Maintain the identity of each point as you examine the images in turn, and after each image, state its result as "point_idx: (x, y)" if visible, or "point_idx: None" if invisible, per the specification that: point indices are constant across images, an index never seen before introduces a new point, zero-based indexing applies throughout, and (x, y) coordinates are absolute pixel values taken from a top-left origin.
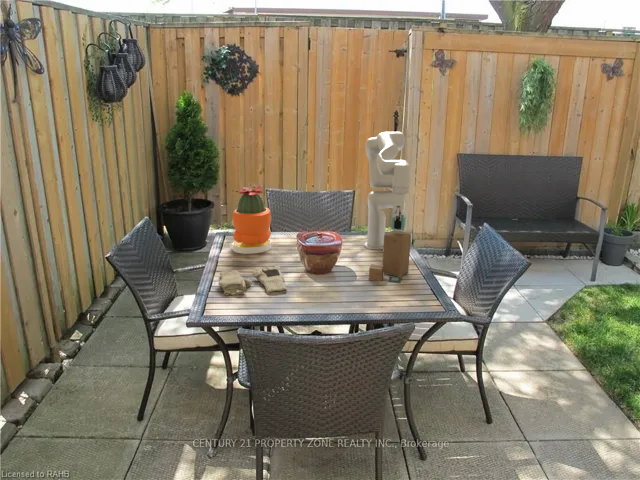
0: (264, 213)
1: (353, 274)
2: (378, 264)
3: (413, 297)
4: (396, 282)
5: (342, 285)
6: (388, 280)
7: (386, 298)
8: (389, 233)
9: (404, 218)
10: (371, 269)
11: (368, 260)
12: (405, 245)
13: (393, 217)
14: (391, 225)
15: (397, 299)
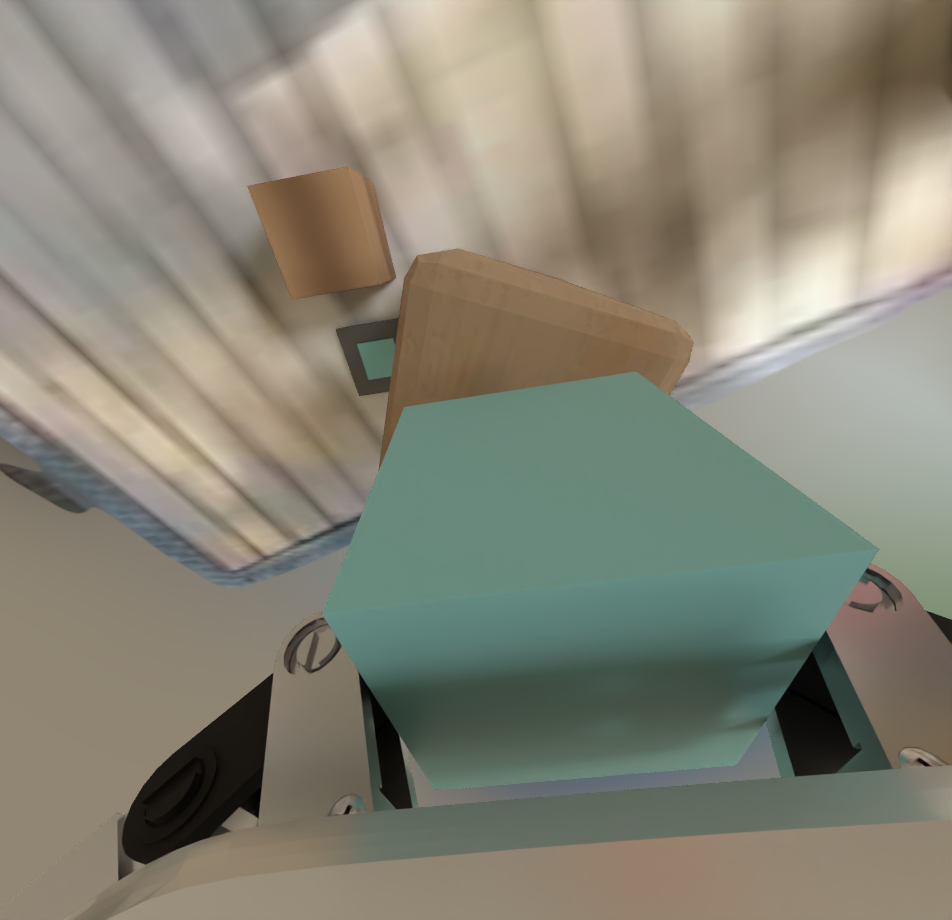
0: None
1: (306, 11)
2: (367, 238)
3: (253, 475)
4: (353, 375)
5: (46, 4)
6: (344, 331)
7: (148, 381)
8: (473, 337)
9: (431, 781)
10: (261, 209)
11: (667, 32)
12: None
13: (348, 645)
14: (391, 444)
15: (182, 427)
